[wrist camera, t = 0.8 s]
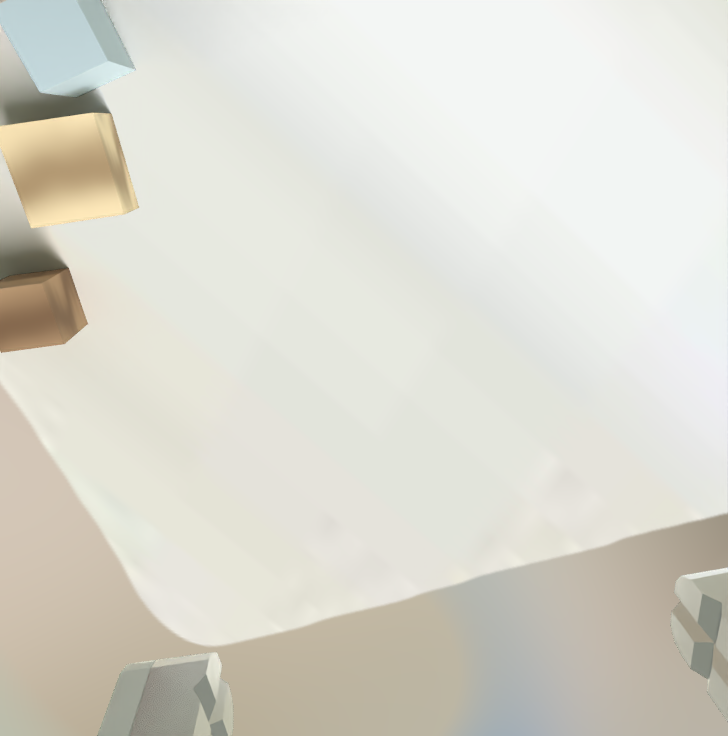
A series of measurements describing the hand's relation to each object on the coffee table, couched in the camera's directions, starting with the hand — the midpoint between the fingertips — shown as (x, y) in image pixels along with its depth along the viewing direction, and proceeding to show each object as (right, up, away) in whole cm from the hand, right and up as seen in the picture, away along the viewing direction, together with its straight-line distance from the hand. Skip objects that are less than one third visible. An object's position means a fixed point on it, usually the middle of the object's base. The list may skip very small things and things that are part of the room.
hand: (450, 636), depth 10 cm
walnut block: (-29, +11, +37) cm, 48 cm away
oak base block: (-24, +21, +34) cm, 46 cm away
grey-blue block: (-22, +28, +30) cm, 47 cm away
